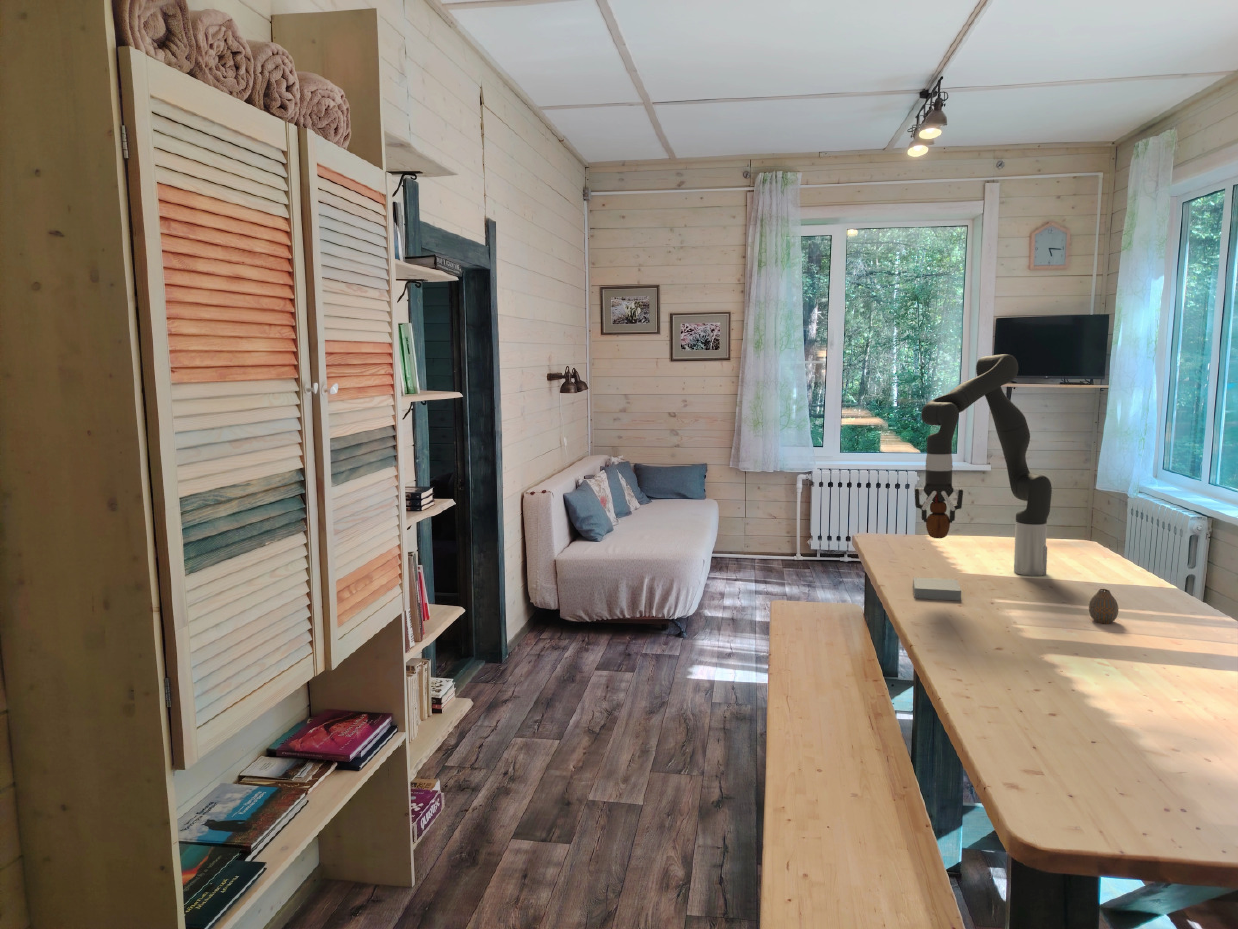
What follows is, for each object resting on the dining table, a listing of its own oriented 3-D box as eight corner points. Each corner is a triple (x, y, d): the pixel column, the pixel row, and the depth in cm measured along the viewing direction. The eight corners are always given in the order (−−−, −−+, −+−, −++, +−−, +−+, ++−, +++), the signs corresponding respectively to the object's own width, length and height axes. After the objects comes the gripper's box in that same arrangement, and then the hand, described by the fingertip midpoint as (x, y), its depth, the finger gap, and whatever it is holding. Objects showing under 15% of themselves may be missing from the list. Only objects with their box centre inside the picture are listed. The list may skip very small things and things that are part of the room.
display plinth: (956, 588, 254) (957, 579, 253) (960, 600, 241) (961, 590, 241) (912, 586, 257) (913, 577, 257) (914, 597, 245) (914, 588, 245)
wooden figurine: (937, 540, 243) (938, 491, 241) (922, 537, 248) (923, 488, 246) (953, 537, 246) (954, 489, 244) (938, 534, 251) (938, 486, 249)
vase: (1116, 618, 221) (1117, 587, 220) (1119, 626, 215) (1121, 594, 214) (1087, 616, 224) (1088, 585, 223) (1089, 623, 218) (1090, 592, 217)
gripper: (963, 466, 246) (962, 520, 248) (913, 466, 250) (912, 519, 252) (965, 470, 239) (964, 525, 241) (914, 469, 243) (913, 523, 245)
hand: (937, 521), depth 247 cm, fingers closed on wooden figurine, 6 cm apart
